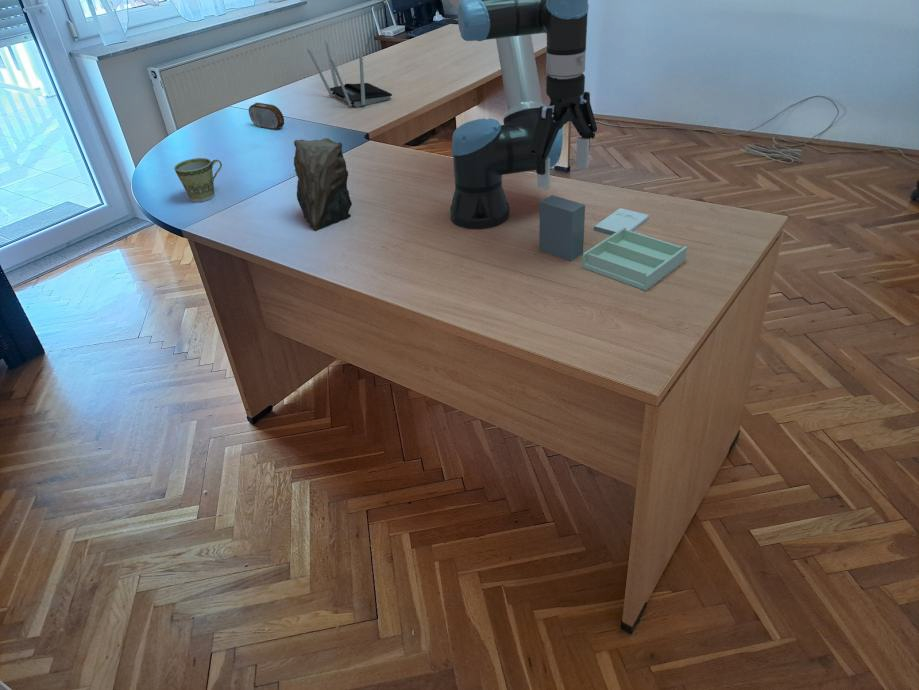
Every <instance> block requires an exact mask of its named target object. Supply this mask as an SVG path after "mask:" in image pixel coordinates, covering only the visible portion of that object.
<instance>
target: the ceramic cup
mask: <svg viewBox="0 0 919 690" xmlns="http://www.w3.org/2000/svg"><path fill="white" fill-rule="evenodd" d="M216 163H219V164H220V166H219V168H218V169H217V170H216V171H215V173H213V168H214V165H215V164H216ZM222 167H223V164H222V162H221V160H218V159H214V160H211V159H209V158H206V157H195V158H190V159H186V160H182V161H180V162H178V163H177V164H175V165H174V168H173V169H174V171H175V173H176V175H177V177H178V180H179V181H180V182H181V185H182V186H183V188H184V190H185V192H186V194H187V196H188V198H189V200H190V201H192V202H193V203H205V202H208V201H211V200H212V199H213V198H214V197H215V195H216V194H215V184H214V180H215V179H216V177H217V175H218V173H219V172H220V171H221V169H222Z"/></svg>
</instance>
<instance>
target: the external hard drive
mask: <svg viewBox="0 0 919 690" xmlns="http://www.w3.org/2000/svg"><path fill="white" fill-rule="evenodd" d="M648 220H650V216H649V214H646V213H642V212H638V211H636V210H635V211H634V210H630V209H626V208H621V207H620V208H618V209H617V210H615V211H614V212H612V213H610V214H609V215H608V216H607V217H605V218H603V220H601V221H600V222H598V223H597V224H595V225H594V226H593V231H595V232H598V233H601V234H607V235H610V236H611V235H613V234H614V233H616V232H617V231H619V230H620V229H622V228H623V227H625V228H626V229H627V230H630V231H633V232H635V231H636V230H638V228H640V227H641V226H642V225H644V224H645V223H646V222H647V221H648Z"/></svg>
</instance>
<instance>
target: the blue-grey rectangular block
mask: <svg viewBox="0 0 919 690" xmlns="http://www.w3.org/2000/svg"><path fill="white" fill-rule="evenodd" d="M585 214H586V204H584V203H580V202H578V201H573V200H571V199H567V198H564V197H560V196H557V195H553V194H552V195H549V196H548V197H546V198H544V199H542V200H540V201H539V224H538V225H539V231H538V232H539V242H538V243H539V244H538V245H539V247H538V248H539V249H538V250H539V251H541V252H542V253H546V254H549V255H552V256H555V257H557V258H559V259H563V260H565V261H568V262H572V261H575V260H576V259H577V258H579V257H581V256H582V255H583V253H584V240H585V239H584V237H585V220H586V218H585V217H586V215H585Z"/></svg>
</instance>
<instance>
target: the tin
mask: <svg viewBox="0 0 919 690" xmlns="http://www.w3.org/2000/svg"><path fill="white" fill-rule="evenodd" d="M248 115H249V118H250V120H251V122H252V123H253V124H254V126H257V127H258V128H262V129H268V130H274V131H276V130H279V129H281V128H283V127H284V124H285V118H284V114H283V113H282V111H281V110H280V108H278V106H276V105H275V104H270V103H263V102H254V103H253V104H251V105H250V106H249V108H248Z"/></svg>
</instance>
